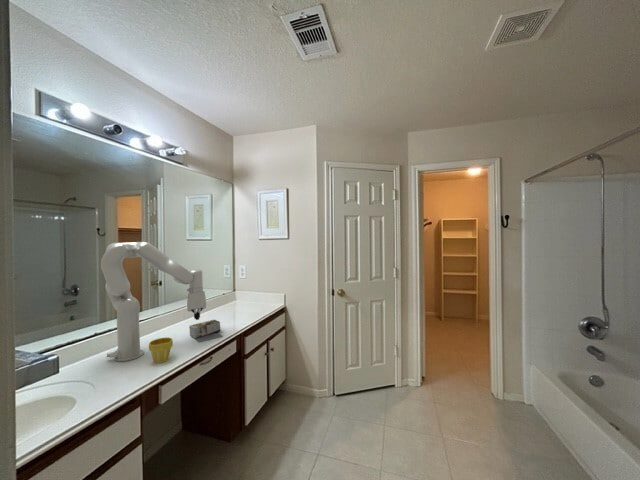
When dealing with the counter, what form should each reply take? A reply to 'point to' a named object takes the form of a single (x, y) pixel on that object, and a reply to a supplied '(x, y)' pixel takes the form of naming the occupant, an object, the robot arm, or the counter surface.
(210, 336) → the mat
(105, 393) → the counter surface
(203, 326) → the coffee box
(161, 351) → the plant pot
